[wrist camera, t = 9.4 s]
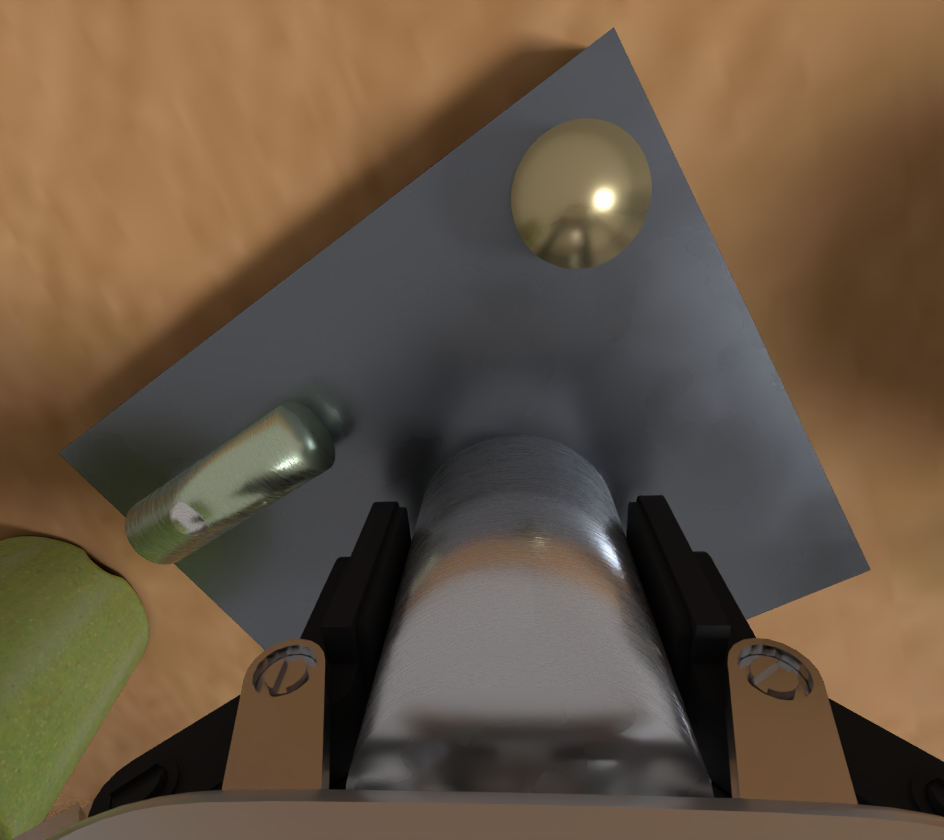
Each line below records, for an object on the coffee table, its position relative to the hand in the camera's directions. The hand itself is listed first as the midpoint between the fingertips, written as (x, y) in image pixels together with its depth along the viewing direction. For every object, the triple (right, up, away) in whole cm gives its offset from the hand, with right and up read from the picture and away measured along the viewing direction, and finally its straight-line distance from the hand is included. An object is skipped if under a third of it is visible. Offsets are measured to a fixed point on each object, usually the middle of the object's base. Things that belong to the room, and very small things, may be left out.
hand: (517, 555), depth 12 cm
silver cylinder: (0, 0, +1) cm, 1 cm away
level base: (-1, +1, +3) cm, 3 cm away
